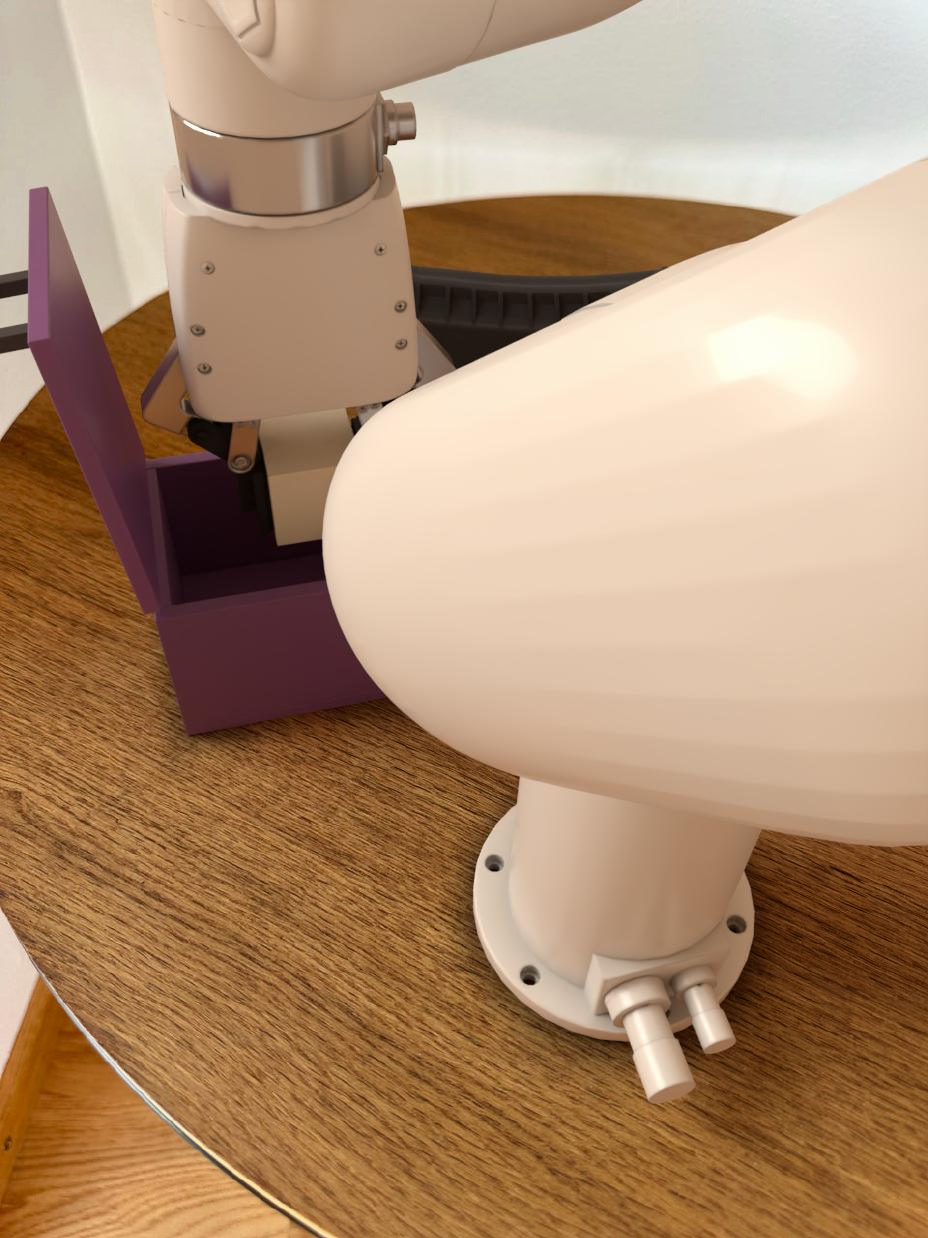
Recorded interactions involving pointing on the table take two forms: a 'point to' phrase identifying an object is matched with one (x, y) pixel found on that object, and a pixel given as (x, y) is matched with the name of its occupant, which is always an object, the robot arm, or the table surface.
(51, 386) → the lid
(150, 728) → the table surface
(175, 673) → the box
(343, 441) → the block
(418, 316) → the magazine
